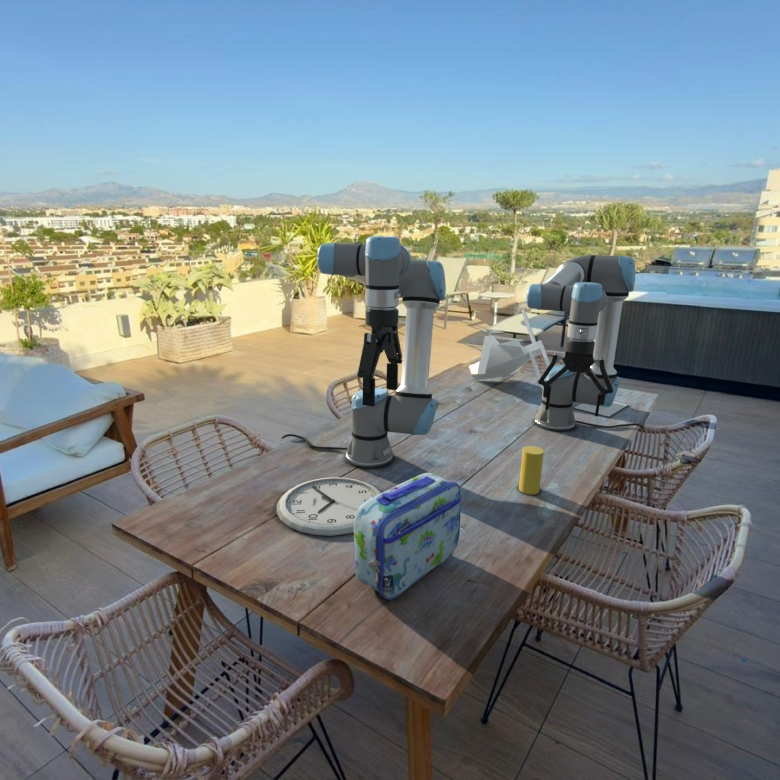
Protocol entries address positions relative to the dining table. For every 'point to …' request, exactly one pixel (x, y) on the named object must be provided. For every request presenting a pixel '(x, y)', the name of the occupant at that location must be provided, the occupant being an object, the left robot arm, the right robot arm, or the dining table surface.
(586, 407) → the invitation card
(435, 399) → the fork
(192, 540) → the dining table surface
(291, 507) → the wall clock
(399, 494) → the lunch box
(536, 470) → the can
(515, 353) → the white plastic object
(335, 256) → the left robot arm
